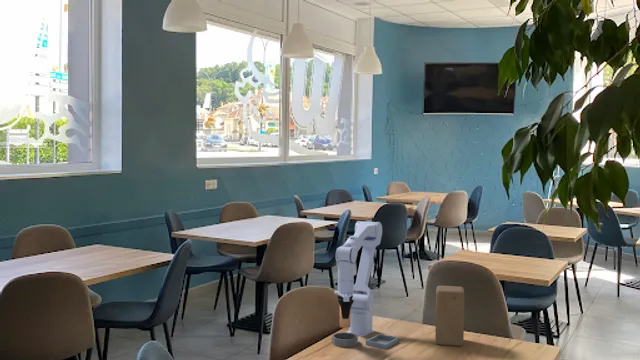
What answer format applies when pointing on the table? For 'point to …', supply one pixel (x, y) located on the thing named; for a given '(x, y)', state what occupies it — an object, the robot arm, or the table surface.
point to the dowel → (345, 320)
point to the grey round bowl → (345, 339)
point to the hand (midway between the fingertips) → (345, 316)
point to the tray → (382, 341)
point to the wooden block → (449, 315)
